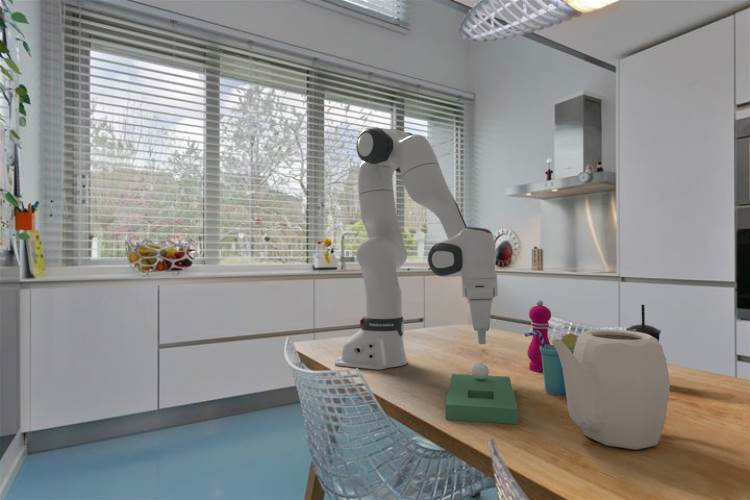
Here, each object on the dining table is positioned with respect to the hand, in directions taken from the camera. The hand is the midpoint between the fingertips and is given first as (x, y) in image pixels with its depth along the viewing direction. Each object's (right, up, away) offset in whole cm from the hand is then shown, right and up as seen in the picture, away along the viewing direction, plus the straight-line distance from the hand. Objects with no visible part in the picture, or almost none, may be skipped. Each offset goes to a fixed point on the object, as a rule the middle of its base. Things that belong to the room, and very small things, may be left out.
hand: (482, 343), depth 116 cm
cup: (+15, -11, -7) cm, 20 cm away
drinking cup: (+42, -10, 0) cm, 43 cm away
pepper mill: (+20, -11, +14) cm, 27 cm away
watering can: (+15, -10, -35) cm, 39 cm away
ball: (-2, -5, -6) cm, 9 cm away
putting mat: (-4, -10, -14) cm, 18 cm away
